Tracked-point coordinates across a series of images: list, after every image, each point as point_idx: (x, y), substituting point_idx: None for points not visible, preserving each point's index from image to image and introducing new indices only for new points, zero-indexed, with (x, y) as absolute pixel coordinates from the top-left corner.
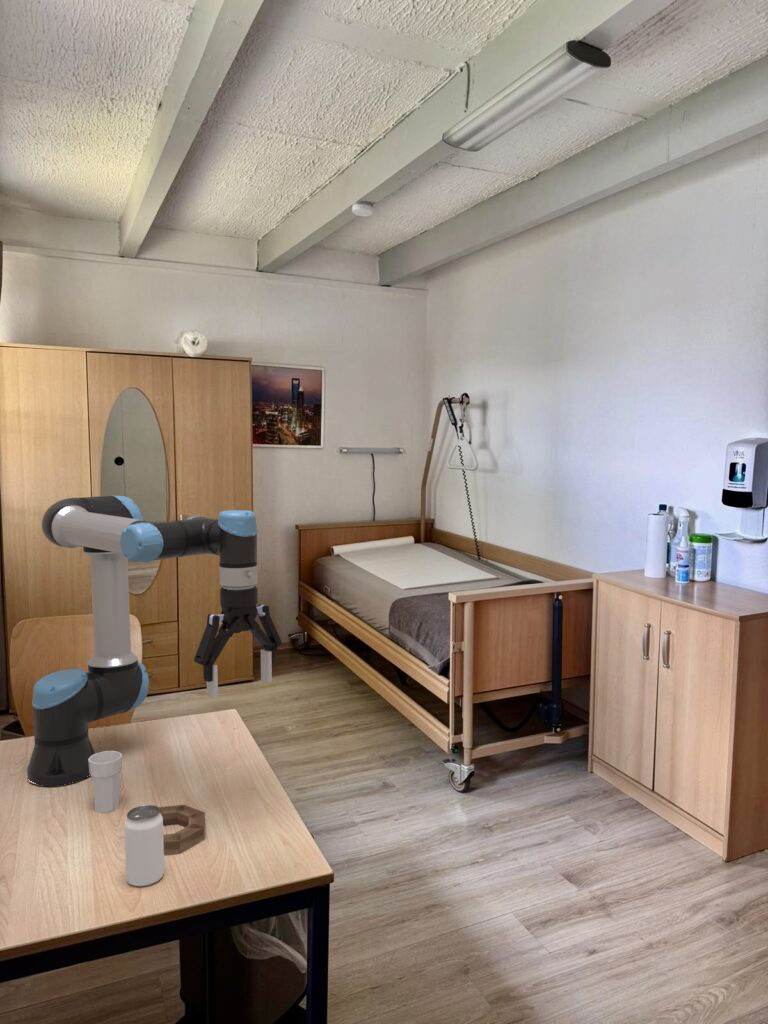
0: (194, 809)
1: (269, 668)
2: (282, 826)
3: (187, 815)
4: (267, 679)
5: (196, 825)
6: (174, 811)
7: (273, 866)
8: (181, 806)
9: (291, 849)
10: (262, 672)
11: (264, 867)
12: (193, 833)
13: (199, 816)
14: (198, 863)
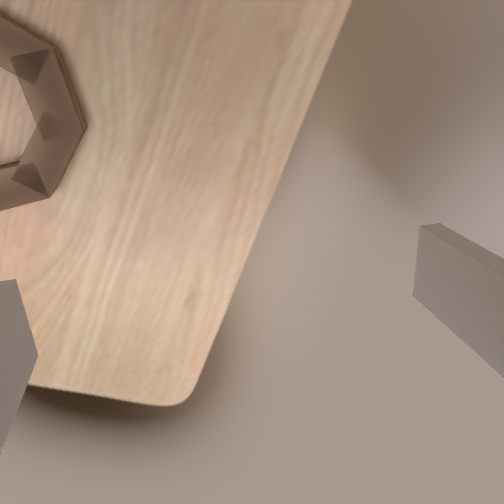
0: (65, 96)
1: (469, 339)
2: (221, 249)
3: (35, 114)
4: (422, 289)
5: (36, 178)
6: (11, 65)
7: (127, 352)
8: (40, 51)
9: (184, 326)
10: (447, 259)
11: (112, 347)
12: (16, 206)
13: (61, 142)
14: (6, 266)
